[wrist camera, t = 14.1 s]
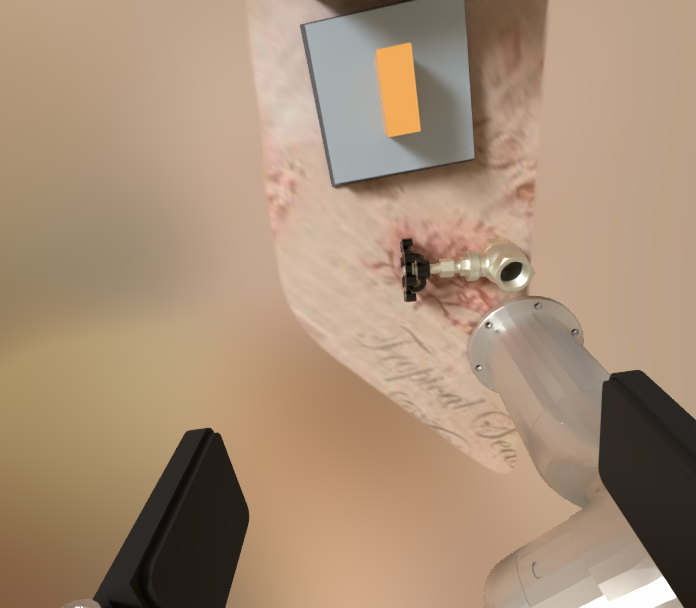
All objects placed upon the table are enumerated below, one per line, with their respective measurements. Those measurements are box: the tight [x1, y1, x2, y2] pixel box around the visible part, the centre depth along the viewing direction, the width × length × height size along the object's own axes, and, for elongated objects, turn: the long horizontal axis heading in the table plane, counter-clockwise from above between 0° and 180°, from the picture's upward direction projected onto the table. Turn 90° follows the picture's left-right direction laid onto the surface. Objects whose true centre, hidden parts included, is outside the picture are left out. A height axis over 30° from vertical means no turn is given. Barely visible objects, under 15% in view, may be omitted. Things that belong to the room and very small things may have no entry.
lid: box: [305, 0, 475, 184], centre depth 36 cm, size 13×13×8 cm
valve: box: [400, 238, 534, 302], centre depth 43 cm, size 7×7×12 cm
